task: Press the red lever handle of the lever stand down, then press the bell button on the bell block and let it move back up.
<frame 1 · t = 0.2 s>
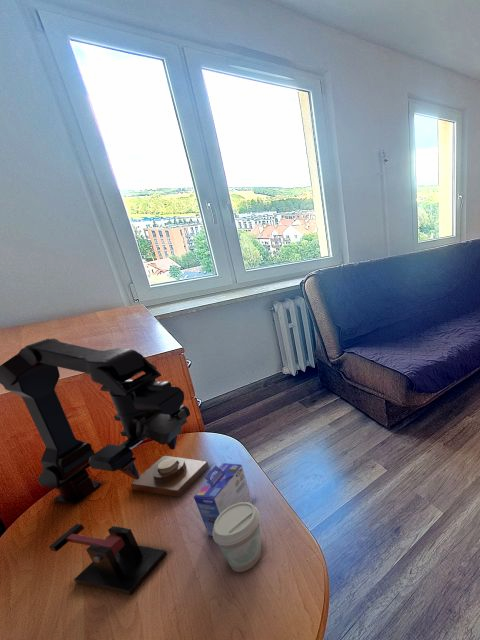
hand: (155, 463, 77), 15 cm above the table, tool pointing down, fingers open, 9 cm apart
bell block: (172, 478, 91), on the table
ink cartridge box: (230, 517, 80), on the table
bell button: (167, 465, 89), point 4 cm above the table, slide at 0.1 cm
red lever handle: (90, 541, 67), point 7 cm above the table, hinge at -0.7°
lever stand: (123, 568, 69), on the table
coffee cup: (246, 558, 71), on the table
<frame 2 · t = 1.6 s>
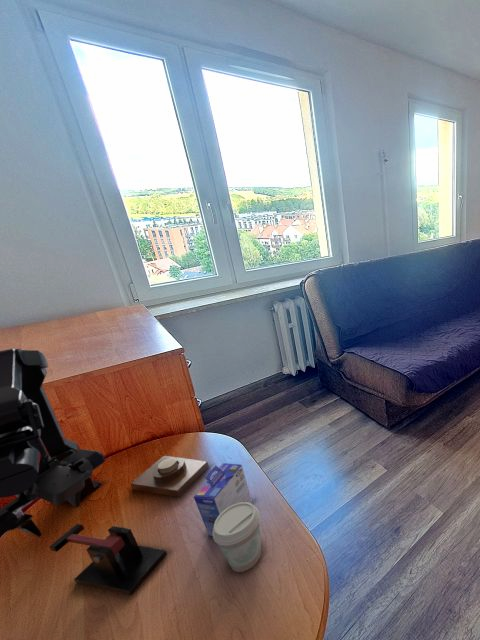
hand: (58, 520, 67), 12 cm above the table, tool pointing down, fingers open, 6 cm apart
red lever handle: (90, 541, 67), point 7 cm above the table, hinge at -1.2°
everything else where it was.
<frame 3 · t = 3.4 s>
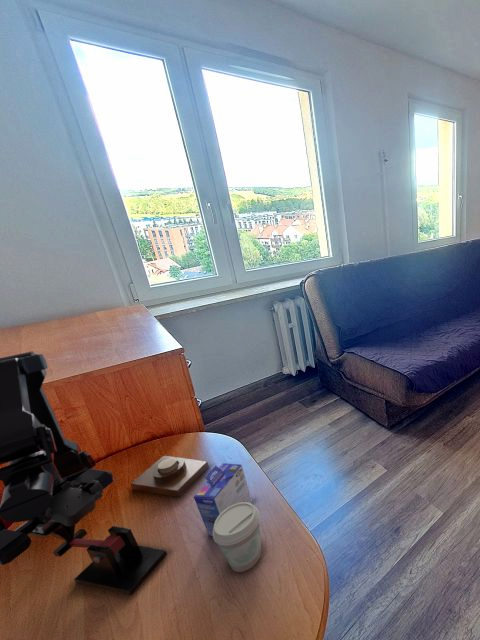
hand: (69, 539, 69), 6 cm above the table, tool pointing down, fingers closed, pressing on red lever handle
red lever handle: (92, 543, 68), point 6 cm above the table, hinge at -9.0°, touching gripper
everything else where it was.
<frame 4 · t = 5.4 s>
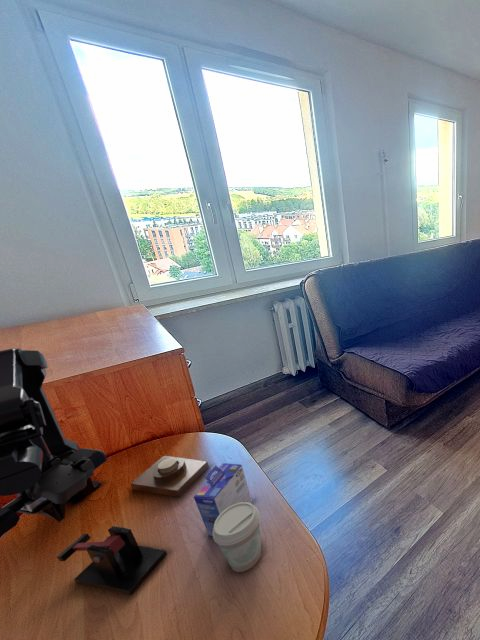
hand: (60, 520, 66), 12 cm above the table, tool pointing down, fingers closed
red lever handle: (94, 546, 68), point 6 cm above the table, hinge at -16.2°
everything else where it was.
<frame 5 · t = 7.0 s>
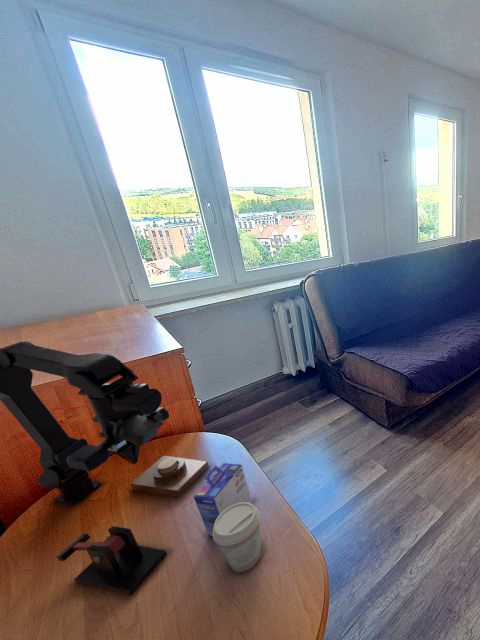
hand: (134, 463, 80), 12 cm above the table, tool pointing down, fingers closed
red lever handle: (93, 545, 68), point 6 cm above the table, hinge at -15.7°
everything else where it was.
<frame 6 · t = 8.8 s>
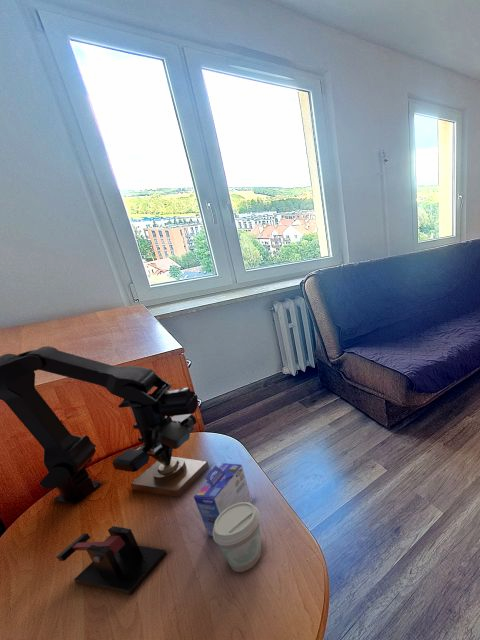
hand: (167, 464, 89), 5 cm above the table, tool pointing down, fingers closed, pressing on bell button
bell button: (168, 467, 90), point 4 cm above the table, slide at -0.5 cm, touching gripper
everything else where it was.
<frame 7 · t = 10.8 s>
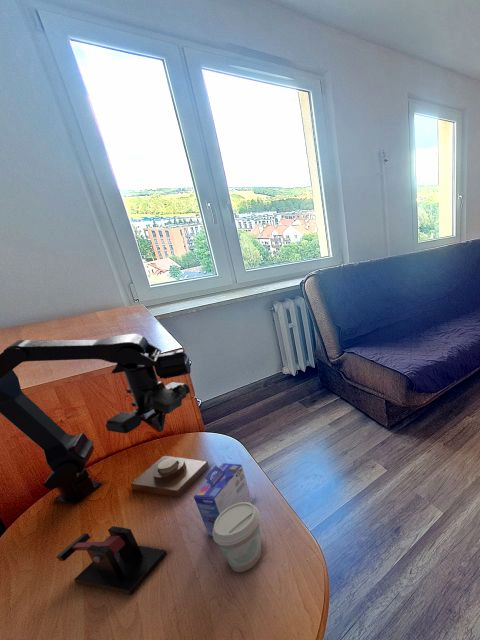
hand: (160, 431, 91), 12 cm above the table, tool pointing down, fingers closed
bell button: (167, 465, 89), point 4 cm above the table, slide at 0.1 cm
everything else where it was.
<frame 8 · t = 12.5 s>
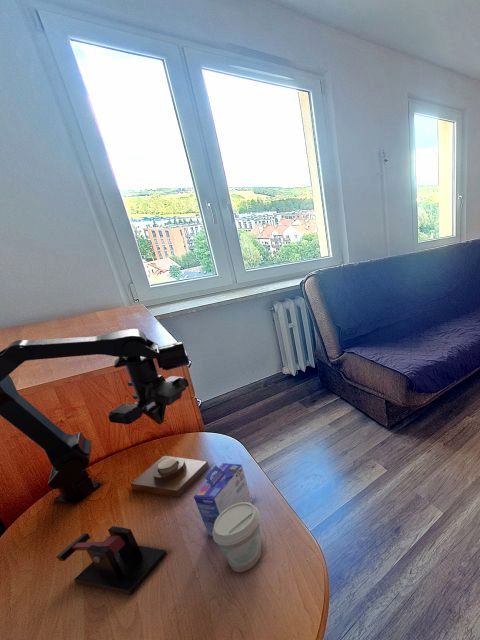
hand: (160, 423, 94), 12 cm above the table, tool pointing down, fingers closed
nothing on the table moved.
at the end: red lever handle reached -20° during the clip, -16° at the end; bell button pushed in 1.1 cm at the most during the clip, back to where it started at the end; bell button slide at 0.1 cm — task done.
